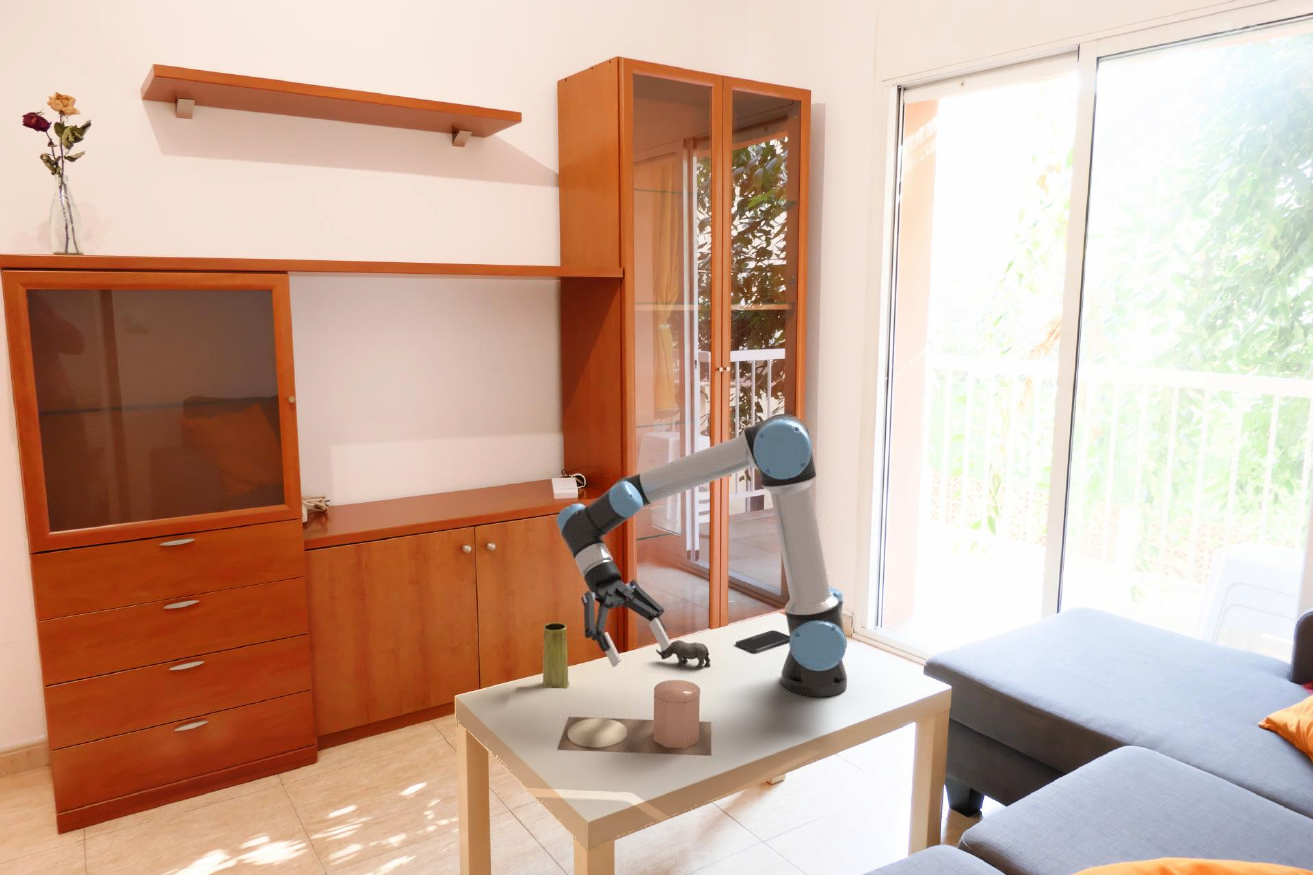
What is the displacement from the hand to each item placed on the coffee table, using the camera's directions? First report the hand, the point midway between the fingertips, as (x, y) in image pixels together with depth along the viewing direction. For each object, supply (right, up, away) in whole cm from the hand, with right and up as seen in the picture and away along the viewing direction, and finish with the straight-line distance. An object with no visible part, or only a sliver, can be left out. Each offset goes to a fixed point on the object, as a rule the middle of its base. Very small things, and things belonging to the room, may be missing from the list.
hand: (642, 655), depth 181 cm
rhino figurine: (+9, -11, +34) cm, 37 cm away
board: (-1, -16, -5) cm, 17 cm away
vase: (-21, -12, +21) cm, 32 cm away
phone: (+31, -9, +49) cm, 58 cm away
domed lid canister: (+7, -15, -6) cm, 17 cm away
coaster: (-9, -15, -5) cm, 18 cm away
